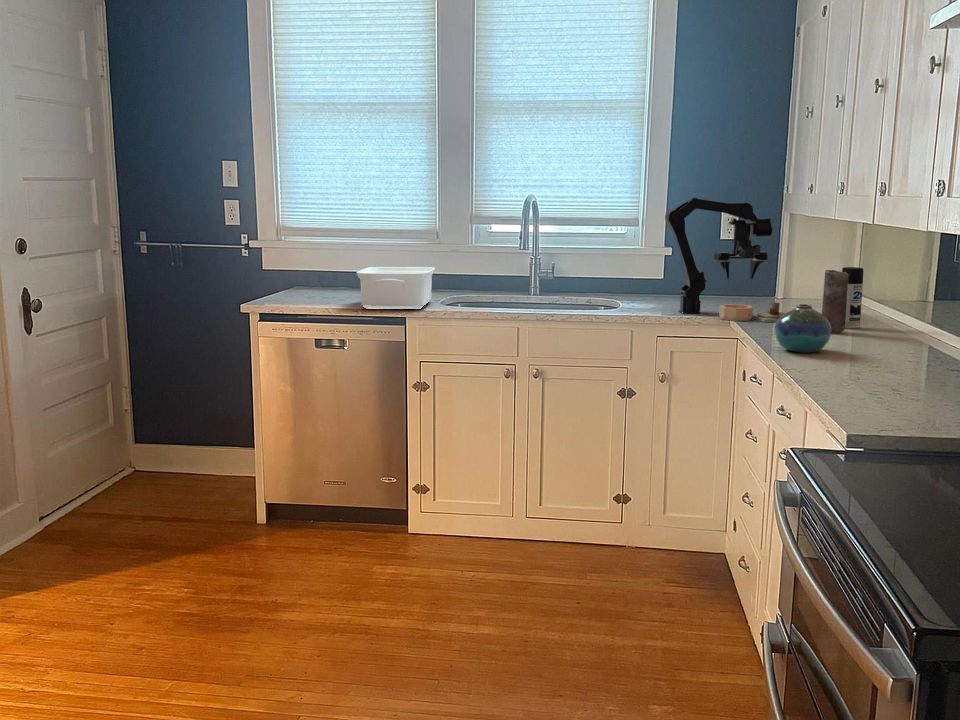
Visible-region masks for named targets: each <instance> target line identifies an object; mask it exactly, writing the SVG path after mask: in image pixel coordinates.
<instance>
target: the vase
mask: <svg viewBox="0 0 960 720" xmlns="http://www.w3.org/2000/svg"><path fill="white" fill-rule="evenodd" d="M785 313H786V314H784V315H782V316H781V317H780V318H779V319H778V321H777V322H775V325H774V336H775V339H776V341H777V343H778V344H779V345H780V346H781V348H783V349H785V350H787V351H790V352H793V353H801V354H802V353H807V354H808V353H815V352H818V351H820V350H822V349H823V348H824V347H826V345H827V344H828V343H829V342H830V338H831V336H832V332H831V325H830V322H829V321H828V319H827V318H826V317H824V316H823V315H822V313H820V312H818V311H817V310H815V309H814V308H813V306H812V304H802V303H801V304H797V305H796V307H795V308H794V309H792V310H790V311H787V312H785Z"/></svg>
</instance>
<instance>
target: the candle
mask: <svg viewBox="0 0 960 720" xmlns="http://www.w3.org/2000/svg"><path fill="white" fill-rule="evenodd" d="M848 276H849V274H848V273H846V272H842V271H839V270H833V269H825V271H824V280H823V282H824V283H823V293H822V295H823V296H822V307H821V314H822V315H823V316H824V317H826V318H827V319H828V321H829V322H830V325H831V333H835V334H836V333H842V332H844V331H845V320H846V305H847V290H848Z"/></svg>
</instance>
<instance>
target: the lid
mask: <svg viewBox="0 0 960 720" xmlns="http://www.w3.org/2000/svg"><path fill="white" fill-rule="evenodd" d="M786 313H787V312H781V311H780V302H776V301H775V302H772V301H771V302H769V311H761V312H757V313H756V314H757V316H758V317H762V318H770V319H779V318H780V317H781V316H782V315H784V314H786Z"/></svg>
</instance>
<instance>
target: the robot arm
mask: <svg viewBox="0 0 960 720" xmlns="http://www.w3.org/2000/svg"><path fill="white" fill-rule="evenodd" d="M696 210H702V211H703V210H704V211H710V212H717V213H723V214H725V215H729V216H732V220H731V221H729V222H728V225H732V226H733V228H734V229H733V239H732V240H731V242H732V243H733V245H732V246H733V247H732V250H731V253H729V252H726V251H715V252H714V254H713V260H715V261H716V262H718V263H719V264H720V267H721V268H722V270H723V274H724V276H725V279H726V280H727V281H728V280H730V264H731V261H729V260H730V259H731V260H732V259H737V260H739V259H745V260H746V259H750V262H749V264H750V268H749V269H750V270H749V278H750V280H753V279H754V276H755V274H756V272H757V271H758V268H759V266H760V265H761V264H762V263H764V262H765V261H768V258H769V255H768V253H767V252H765V251H761V245H760V244H754V245H752V240H751V235H752V236H753V238H771V236H772V233H773V227H772V226H773V225H772V221H771V220H772V219H771V218H768V217H767V218H766V217H765V218H758V217H757V216H756V214H755V212H754V209H753V206H752V205H751V204H750V203H749V202H728V203H727V202H721V201H715V200H708V199H702V198H698V197H690V198H688V199H687V200H686V201H685V202H683V203H682V204H680V205H678V206H677V207H676V208H675V209H673V208H672V209H669V210H668V211H667V212H666V213H665V216H664V220H665V222H666V224H667V226H668V228H669V229H670V231H671V232H672V234H673V237H674V239H675V242H676V245H677V248H678V252H679V255H680V258H681V261H682V264H683V267H684V271H685V273H684V274H685V275H684V278H685V284H684V286H683V287H681V288H680V289H679V291H680V294H681V295H680V299H679V301H680V303H679V309H678V312H679V311H680V312H679V313H681V312H683V313H693V314H701V303H702V302H701V300H700V296H701V293H702V292H703V291H704V290H705V289H706V283H707V282H708V281H707V280H706V278H705V274H704V271H703V270H700V269H699V270H698V268H697V266H696V262H695V259H694V256H693V252H692V249H691V246H690V242H689V240H688V237H687V233H686V222H685V218H687V217H688V216H690V214H691V213H693V212H694V211H696ZM733 217H734V218H733ZM737 218H739V219H738V220H737ZM741 219H742V220H741ZM746 221H747V222H746ZM683 313H682V314H683Z"/></svg>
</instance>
